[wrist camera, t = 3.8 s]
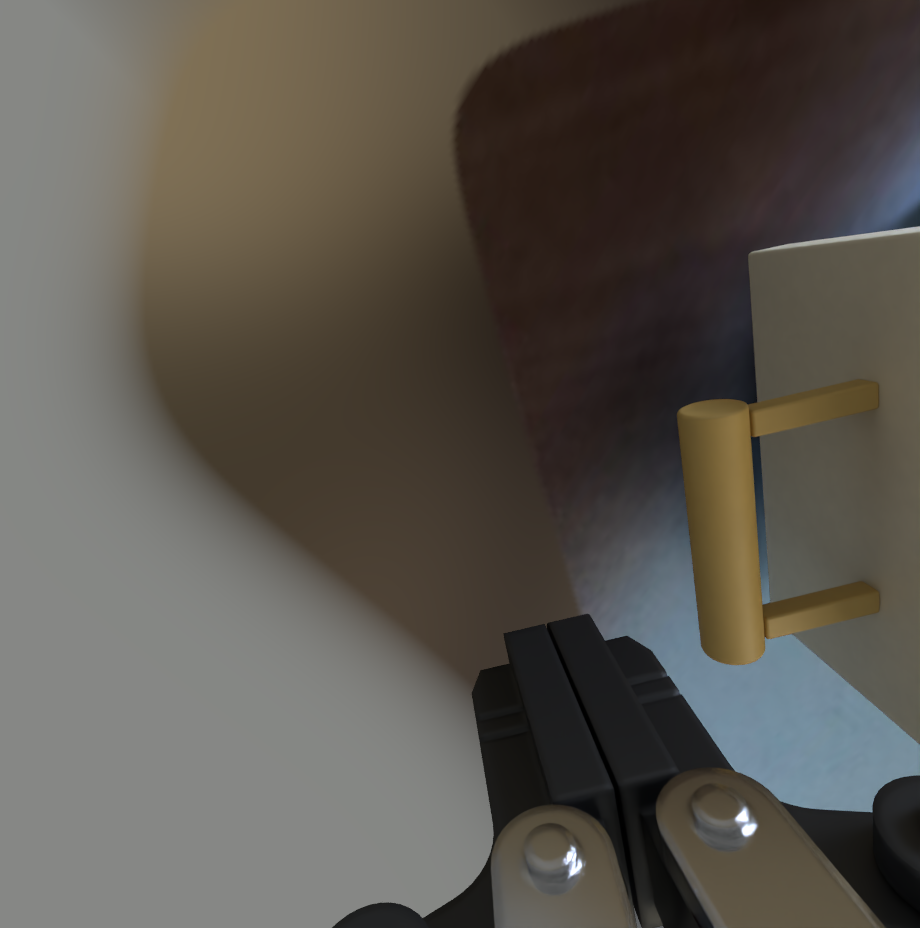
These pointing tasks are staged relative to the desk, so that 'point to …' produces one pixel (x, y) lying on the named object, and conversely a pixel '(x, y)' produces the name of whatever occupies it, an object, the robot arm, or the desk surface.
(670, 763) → the robot arm
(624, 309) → the desk surface
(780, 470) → the drawer
